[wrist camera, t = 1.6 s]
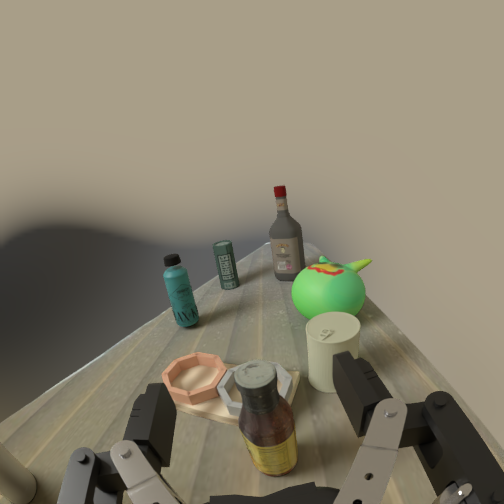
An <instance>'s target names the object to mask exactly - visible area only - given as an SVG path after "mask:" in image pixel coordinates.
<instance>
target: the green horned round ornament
mask: <svg viewBox="0 0 504 504" xmlns="http://www.w3.org/2000/svg"><path fill="white" fill-rule="evenodd" d="M371 261H372V260H371V259H364V260H361V261H357V262H353V263H349V264H345V265H342V264H339V263H332V262H330V261H329V260H328V259H327V258H326V257H324V256H321V257H320V259H319V263H317V264H313V265H310V266H308V267H306V268H305V269H303V270H302V271H301V272H300V273H299V274H298V275H297V277H296V278H295V280H294V282H293V285H292V299H293V302H294V305H295V307H296V308H297V310H298V311H299V312H300V313H301V314H302V315H303V316H305V317H306V318H308V319H309V320H311V319H312V318H313V317H315V316H317V315H319V314H323V313H327V312H345V313H348V314H351V315H353V316H355V315H356V314H357V313H358V312H359V311H360V309H361V308H362V306H363V304H364V300H365V286H364V283H363V281H362V279H361V277H360V276H359V275H358V274H357V272H358V271H360V270H361V269H363V268H364V267H365V266H367V265H368V264H369V263H371Z"/></svg>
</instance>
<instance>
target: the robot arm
mask: <svg viewBox="0 0 504 504" xmlns="http://www.w3.org/2000/svg"><path fill="white" fill-rule="evenodd" d="M332 378H333V384H334V387H335V390H336V392H337V394H338V396H339V398H340V400H341V403H342V405H343V407H344V409H345V411H346V413H347V415H348V417H349V420H350V422H351V424H352V426H353V428H354V430H355V432H356V435H357V437H358V438H359V437H362V436H364V435H365V438H364V441H363V443H362V445H361V446H360V448H359V450H358V453H357V455H356V457H355V460H354V462H353V464H352V466H351V469H350V471H349V473H348V475H347V477H346V479H345V481H344V483H343V485H342V487H341V489H340V490H339V489H336V488H331V487H316V486H315V482H310V483H306V484H302V485H297V486H292V487H288V488H285V489H283V490H280V491H278V492H275V493H273V494H270V495H267V496H264V497H253V496H243V495H222V496H210V502H207V503H204V504H380V503H381V500H382V498H383V495H384V493H385V490H386V487H387V485H388V482H389V479H390V476H391V473H392V470H393V467H394V464H395V461H396V457H397V454H398V448H403V447H409V446H413V447H414V449H415V451H416V453H417V455H418V457H419V459H420V461H421V463H422V465H423V467H424V470H425V472H426V474H427V476H428V478H429V480H430V482H431V484H432V486H433V488H434V491H435V493H436V495H437V498H436V499H435V500H434V502H433V503H432V504H504V472H503V470H502V469H501V467H500V466H499V464H498V462H497V461H496V459H495V458H494V456H493V455H492V453H491V451H490V450H489V448H488V447H487V445H486V444H485V442H484V441H483V439H482V438H481V436H480V435H479V433H478V432H477V431H476V429H475V428H474V426H473V425H472V423H471V422H470V420H469V419H468V418H467V416H466V415H465V413H464V412H463V411H462V409H461V408H460V407H459V405H458V404H457V403H456V401H455V400H454V398H453V397H452V396H451V395H450V394H449V393H447V392H443V391H436V392H433V393H431V394H430V395H428V396H427V398H426V400H425V402H419V403H412V404H405V403H404V402H403V401H401V400H399V399H395V398H393V397H392V396H391V394H390V393H389V391H388V390H387V388H386V387H385V385H384V384H383V382H382V381H381V379H380V378H379V377H378V375H377V373H376V372H375V371H374V369H373V368H372V366H371V365H370V363H369V362H367V361H366V360H364V359H362V358H357V359H354V358H353V356H352V355H351V353H350V352H349V351H344V352H341V353H337V354H334V355H333V366H332ZM176 415H177V411H176V406H175V403H174V401H173V399H172V397H171V395H170V393H169V391H168V389H167V387H166V385H165V383H152V384H148V386H147V389H146V393H145V394H140V396H139V397H138V398H137V399H136V400H135V402H134V405H133V408H132V411H131V414H130V418H129V421H128V424H127V427H126V431H125V434H124V438H123V440H122V441H120V442H117V443H116V444H115V445H114V446H113V447H112V448H111V451H108V452H102V453H96V454H95V453H94V452H93V451H92V450H91V449H89V448H86V447H82V448H79V449H77V450H75V451H74V452H73V453H72V455H71V457H70V460H69V463H68V466H67V469H66V473H65V476H64V479H63V483H62V486H61V490H60V494H59V498H58V501H57V504H122V500H123V492H124V490H126V491H127V494H128V495H129V497H130V499H131V500H132V502H133V504H186V503H185V502H184V501H183V500H182V499H181V498H180V497H179V495H178V494H177V493H176V492H175V491H174V489H173V488H172V487H171V486H170V484H169V483H168V482H167V481H166V479H165V478H164V477H163V475H162V474H161V473H160V472H161V467H169V466H170V458H171V450H172V443H173V436H174V429H175V422H176ZM35 492H36V481H35V478H34V476H33V475H32V473H31V472H30V471H28V470H27V469H26V468H25V467H24V466H23V465H22V464H21V463H20V462H19V461H18V460H17V459H16V458H15V457H14V456H13V455H12V454H11V453H10V452H9V451H8V450H7V449H6V448H5V447H4V446H3V445H2V444H1V442H0V494H1V495H3V496H4V497H5V498H6V499H8V500H9V501H10V502H12V503H13V504H27V503H29V502H30V501H31V500H32V499H33V497H34V495H35Z"/></svg>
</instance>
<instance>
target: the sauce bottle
mask: <svg viewBox="0 0 504 504" xmlns="http://www.w3.org/2000/svg"><path fill="white" fill-rule="evenodd" d="M234 379H235V384H236V387H237V389H238V391H239V392H240V394H241V397H242V403H243V404H242V408H241V412H240V415H239V418H238V424H239V428H240V431H241V433H242V436H243V438H244V441H245V443H246V446H247V449H248V451H249V453H250V456H251V458H252V460H253V463H254V465H255V466H256V468H257V469H258V470H259V471H261V472H262V473H264V474H266V475H268V476H281V475H284V474H287V473H289V472H290V471H291V470H292V469H293V468H294V466H295V465H296V463H297V457H298V449H297V440H296V431H295V422H294V419H293V412H292V409H291V406H290V405H289V403H288V402H287V401H286V400H285V399H284V398H283V397H282V396H281V395H279V392H278V389H277V381H278V377H277V371H276V368H275V366H274V365H273V364H272V363H270V362H269V361H266V360H251V361H248V362H246V363H244V364H243V365H241V366H240V367H238V369H237V370H236V371H235V374H234Z"/></svg>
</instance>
